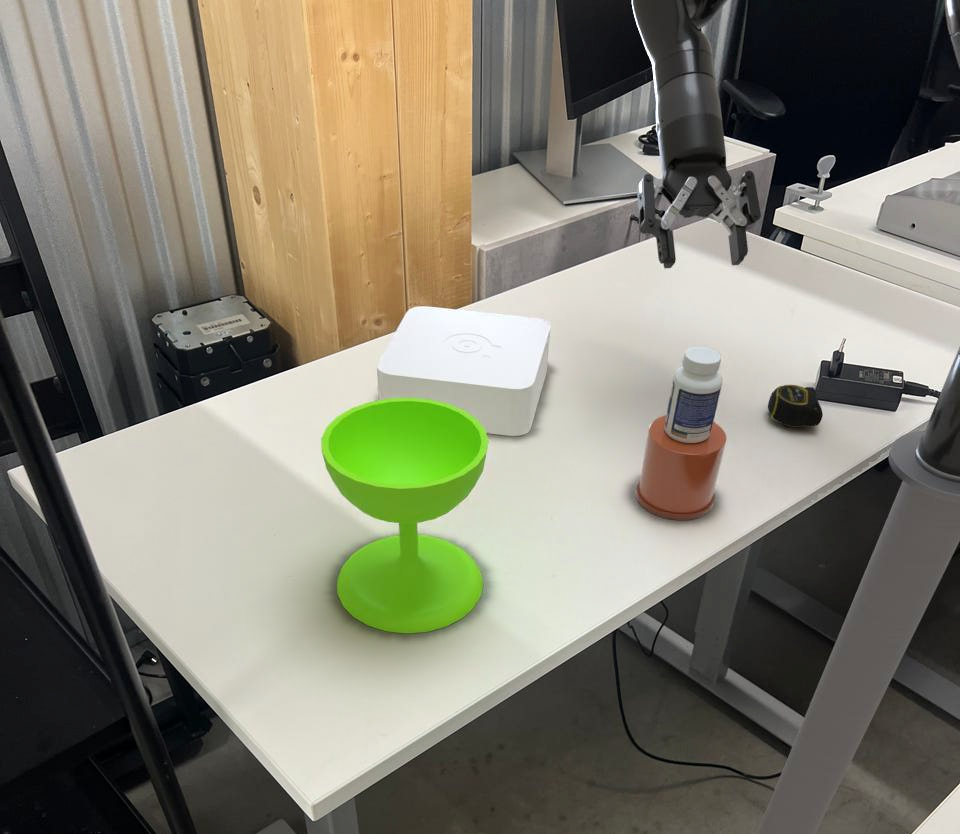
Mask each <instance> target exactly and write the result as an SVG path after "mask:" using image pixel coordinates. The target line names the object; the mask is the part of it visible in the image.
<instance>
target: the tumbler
mask: <svg viewBox="0 0 960 834" xmlns="http://www.w3.org/2000/svg"><path fill="white" fill-rule="evenodd" d="M666 415H667V414H664V415H662V416H659V417H657V418H656V419H655V420H653V421H652V422H651V423H650V425H649V427H648V431H647V439H646V443H645V449H644V456H643V460H642V464H641V465H642V466H641V472H640V476H639V477H640V478H639V480H638V481H637V483H636V487H635V498H636V500H637V501H638V504H639V505H640V506H641V507H642V508H643V509H644V510H646V511H647V512H649V513H651V514H653V515H655V516H657V517H660V518H663V519H668V520H674V521H688V520H689V521H690V520H694V519H699V518H701V517H703V516H705V515H707V514H708V513H709V512H711V510H712V509H713V506H714V503H715V498H716V494H715V489H716V485H717V482H718V481H717V480H718V476H719V473H720V470H721V469H720V468H721V465H722V459H723V456H724V452H725V447H726V443H727V440H728V439H727V434H726V432H725V430H724V429H723V427H722V426H721V425H720V424H718V423H716V422H715V421H713V425H712V429H711V433H710V436H709V437H708V438H707V439H706V440H704V441H702V442H698V443H683V442H679V441H677V440H674V439H673V438H671V437H670V436H669V435H668V434H667V433H666V431H665V421H666Z"/></svg>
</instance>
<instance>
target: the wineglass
mask: <svg viewBox="0 0 960 834" xmlns="http://www.w3.org/2000/svg"><path fill="white" fill-rule="evenodd" d="M487 434H488V433H486V430H485V429H484V428H483V426H482V425H481V424H480V422H479V421H478V420H477V419H476V418H474V417H473V416H471V415H470V414H469V413H467V412H466V411H464V410H462V409H459V408H457V407H455V406H452V405H450V404H447V403H443V402H438V401H434V400H430V399H419V398H390V399H384V400H379V399H378V400H374V401H369V402H365V403H363V404H360V405H357V406H353V407H351V408H349V409H347V410H346V411H345V412H343V413H341V414H339V415H337V416H336V417H335V418H334V419H333V420H332V421H330V423H329V424H328V425H327V426H326V427H325V429H324V432H323V433H322V436H321V437H320V438H321V439H320V441H321V442H320V443H321V453H322V457H323V461H324V465H325V469H326V470H327V472H328V475H329V476H330V478H331V480H332V482H333V483H334V485H335V486H336V488H337V490H338V491H339V493H340V494H341V495H342V497H344V499H346V500H347V501H348V503H350V504H352V505H353V506H354V507H356V508H357V509H358V510H359V511H361V512H362V513H364V514H366V515H367V516H370V517H372V518H373V519H376V520H379V521H383V522H387V523H394V524H398V534H395V535H391V536H388V537H382V538H379V539H376V540H375V541H371V543H367V544H365V545H364V546H362V547H361V548H359V549H358V550H356V551H355V552H354V553H352V554H351V555H350V557H348V559H347V560H346V562H344V564H343V565H342V567H341V569H340V572H339V574H338V577H337V579H336V591H337V594H336V595H337V596H338V598H339V601H340V603H341V605H342V607H343V608H344V609H345V610H346V611H347V612H348V613H349V614H350V615H351V616H352V617H353V618H354V619H356V620H358V621H359V622H361V623H363V624H365V625H366V626H368V627H371V628H374V629H378V630H381V631H384V632H388V633H389V632H390V633H397V634H417V633H428V632H432V631H436V630H441V629H444V628H447V627H448V626H450V625H452V624H454V623H456V622H458V621H460V620H462V619H463V618H464V617H465V616H467V615H468V614H469V613H470V612H471V611H473V610H474V609H475V607H476V605H477V604H478V602H479V601H480V599H481V598H482V594H483V589H484V581H483V576H482V571H481V569H480V567H479V566H478V564H477V563H476V561H475V559H474V558H473V557H472V556H471V555H470V554H469V553H467V551H466V550H464V549H463V548H462V547H460V546H458V545H457V544H454V543H452V542H450V541H448V540H446V539H443V538H439V537H436V536H433V535H425V534H418V524H419V523H424V522H429V521H433V520H436V519H438V518H440V517H443V516H445V515H446V514H448V513H449V512H451V511H452V510H454V509H455V508H456V507H457V506H459V505H460V504H461V503H462V502H463V501H465V499H467V498H468V496H469V495H470V493H471V492H472V491H473V489H474V488H475V487H476V484H477V483H478V481H479V479H480V477H481V475H482V474H483V472H484V468H485V463H486V458H487V452H488V447H489V438H488V435H487Z"/></svg>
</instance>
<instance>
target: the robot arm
mask: <svg viewBox="0 0 960 834" xmlns="http://www.w3.org/2000/svg"><path fill="white" fill-rule="evenodd" d="M728 1H729V0H631V5H632V11H633V15H634V19H635V22H636V26H637V28H638V31H639V34H640V37H641V40H642V43H643V46H644V48H645V51H646V54H647V56H648V57H649V60H650V62H651V65H652V66H651V67H652V75H653V84H654V85H653V86H654V94H655V123H656V125H655V131H656V135H657V142H658V150H659V151H658V152H659V160H660V168H661V169H660V171H661V174H662V178H654V176H653V175H652V174H651V173H646V174H644V176H643V177H642V179H641V181H640V182H639V184H638V186H637V187H636V188H637V189H636V193H637V211H638V212H637V213H638V230H639V232H640V234H643V235H646V234H649V235H652V236H654V237H655V240H656V248H657V259H658V261H659V263H660V265H661V264H663V268H664V269H671V268H672V267H673V266H674V265H675V264H676V259H677V258H676V257H677V256H676V249H675V237H674V231H673V229H670V228H671V227H672V225H673V223H674V222H675V220H676V218H677V216H679V215H680V216H682V218H683V219H688V218H692V217H695V216H696V217H700V218H709V216H712V218H713V219H714V220H715V222H717V223H718V224H722V225H723V227H724V228H725V229H726V230H727V232H729V233H730V234H729V235H728V245H729V254H730V263H731V265H732V266H739V265H740V264H741V263H742V262H743V261H744V260H745V257H747V255H748V252H749V247H748V238H747V230H751V229H752V228H753V226H754V225H755V224H756V223H757V222H758V221H759V220H760V219H761V218H762V214H761V208H760V207H761V206H760V202H759V196H758V190H757V183H756V178H755V173H754V172H753V171H752V170H746V171H745V172H744V174H741V175H731V174H730V173H729V170H728V169H727V154H726V153H727V152H726V143H725V133H724V124H723V116H722V107H721V99H720V95H719V92H718V88H717V81H716V73H715V62H714V55H713V49H712V45H711V41H710V40H709V38H708V37H707V35H706V34H705V33H704V32H703V31H702V30H701V29H702V28H705V26H707V25H708V24H709V23H710V22H711V21H712V20H713V19H714V18H715V16H716V15H718V13H719V12H720V10H721V9H722V8H723V7H724V6H725V4H726V3H728ZM943 2H944V14H945V20H946V26H947V30H948V34H949V36H950V41H951V44H952V47H953V48H952V49H953V51H954V55H955V58H956V61H957V65H958V68H959V70H960V0H943ZM729 189H731V190H732V191H733V195H734V197H737V199H738V204H737V202H736V201H735V199H734V198H733V197H732V195H731V194H729V192H728V191H729ZM659 192H660V193H661V194H662V195H663V197H664V198H665V200H666V201H667V202H668V203H669V204H670V205H669V206H668V208H667V210H666V211H665V213H664V215H663V216H662V218H661V219H659V218H657V217H656V200H655V198H656V197H657V196H658V194H659ZM738 205H739V208H738ZM721 206H723V207H721ZM722 208H723V209H722ZM928 419H929V420H928V422H927V424H926V427H925V430H924V431H925V432H924V434H923V436H922V438H921V440H920V443H919V445H918V446H917V449H916V451H915V458H916V460H917V462H918V463H919V464H920V465H921V466H922V467H923V468H924V469H925V470H927V471H928V472H930V473H932V474H934V475H936V476H938V477H941V478H943V479H946V480H950V481H954V482H959V483H960V346H959V347H958V350H957V352H956V355H955V357H954V359H953V362H952V364H951V366H950V369H949V372H948V373H947V376H946V379H945V382H944V383H943V385H942V388H941V391H940V393H939V395H938V398H937V401H936V402H935V405H934V407H933V410H932V412H931V415H930V417H929V418H928Z"/></svg>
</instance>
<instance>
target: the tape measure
mask: <svg viewBox="0 0 960 834" xmlns="http://www.w3.org/2000/svg"><path fill="white" fill-rule="evenodd" d="M767 411H768V414H769V415H770V417H771V418H772V420H774V421H776V422H777V423H778V424H781V425H783V426H787V427H790V428H791V427H792V428H801V427H816V426H819V425H820V424H821V422H822V419H823V416H824V415H823V409H822V406H821V404H820V402H819V397H818V393H817V390H816V388H815V387H812V386H806V387H803V386H800V385H796V384H784V385H780V386H777V387H776V388H775V389H774V390H773V391H772V393H771V394H770V396H769V399H768V403H767Z"/></svg>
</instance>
